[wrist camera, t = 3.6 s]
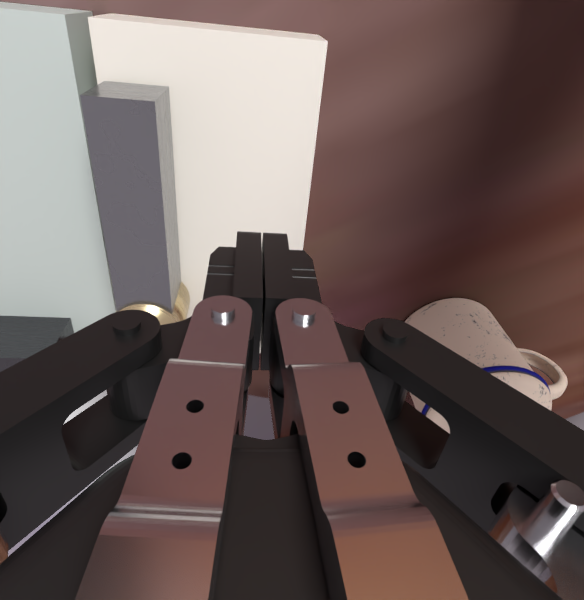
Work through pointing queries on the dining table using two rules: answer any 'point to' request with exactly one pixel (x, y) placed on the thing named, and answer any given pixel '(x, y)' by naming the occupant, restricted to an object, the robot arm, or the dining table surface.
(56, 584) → the robot arm
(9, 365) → the block
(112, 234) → the bar
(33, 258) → the door leaf
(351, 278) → the dining table surface
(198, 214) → the jamb block
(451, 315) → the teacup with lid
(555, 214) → the dining table surface
